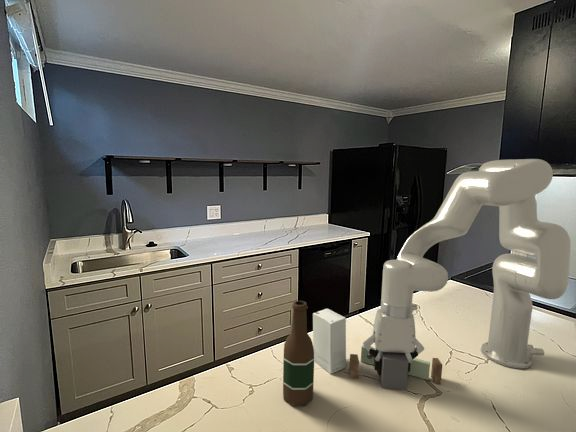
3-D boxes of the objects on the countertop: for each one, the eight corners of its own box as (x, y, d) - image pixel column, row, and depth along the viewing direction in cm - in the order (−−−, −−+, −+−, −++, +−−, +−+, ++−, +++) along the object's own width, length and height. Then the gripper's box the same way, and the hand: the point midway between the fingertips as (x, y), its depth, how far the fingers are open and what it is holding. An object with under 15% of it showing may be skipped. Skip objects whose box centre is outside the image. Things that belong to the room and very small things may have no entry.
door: (428, 377, 83) (430, 362, 83) (428, 382, 81) (429, 366, 81) (361, 359, 91) (362, 344, 90) (360, 363, 89) (360, 348, 88)
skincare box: (346, 368, 87) (348, 318, 85) (329, 375, 84) (331, 323, 82) (326, 353, 94) (328, 307, 92) (310, 359, 91) (312, 311, 88)
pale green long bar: (436, 376, 84) (437, 358, 83) (440, 384, 81) (442, 364, 80) (349, 370, 86) (350, 352, 85) (350, 377, 83) (351, 358, 82)
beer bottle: (289, 412, 70) (291, 312, 67) (277, 390, 78) (278, 299, 74) (319, 402, 74) (322, 306, 70) (304, 382, 81) (307, 294, 77)
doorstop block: (399, 372, 85) (401, 345, 84) (406, 390, 78) (408, 360, 77) (377, 370, 86) (378, 344, 85) (382, 388, 79) (384, 359, 78)
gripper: (424, 303, 83) (419, 365, 85) (359, 301, 84) (356, 362, 86) (436, 316, 75) (430, 384, 78) (364, 313, 76) (360, 380, 79)
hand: (391, 372), depth 82 cm, fingers closed on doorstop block, 6 cm apart
